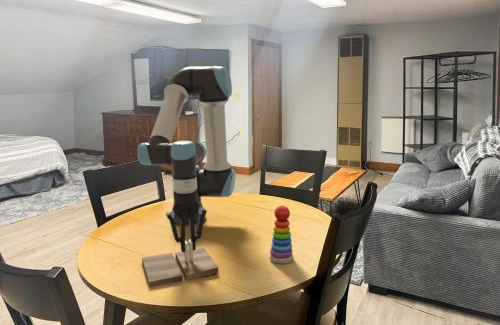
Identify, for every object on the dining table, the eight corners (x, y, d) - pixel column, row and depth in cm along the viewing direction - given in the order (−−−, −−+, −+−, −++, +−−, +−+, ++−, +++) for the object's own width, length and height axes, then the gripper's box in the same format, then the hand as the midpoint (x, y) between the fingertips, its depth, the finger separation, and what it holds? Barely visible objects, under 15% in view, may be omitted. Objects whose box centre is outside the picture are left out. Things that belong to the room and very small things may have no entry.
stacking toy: (292, 265, 137) (292, 210, 133) (268, 264, 138) (267, 209, 135) (294, 255, 145) (294, 203, 141) (271, 254, 146) (270, 202, 142)
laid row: (142, 262, 141) (141, 257, 141) (171, 257, 145) (171, 252, 144) (149, 287, 125) (149, 281, 124) (183, 280, 128) (182, 275, 128)
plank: (175, 257, 145) (175, 252, 145) (203, 250, 148) (203, 246, 148) (187, 280, 129) (186, 274, 128) (218, 272, 132) (217, 267, 131)
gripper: (165, 196, 127) (169, 268, 131) (209, 190, 131) (212, 261, 136) (161, 190, 133) (165, 259, 138) (203, 185, 138) (206, 252, 143)
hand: (188, 260), depth 137 cm, fingers closed
